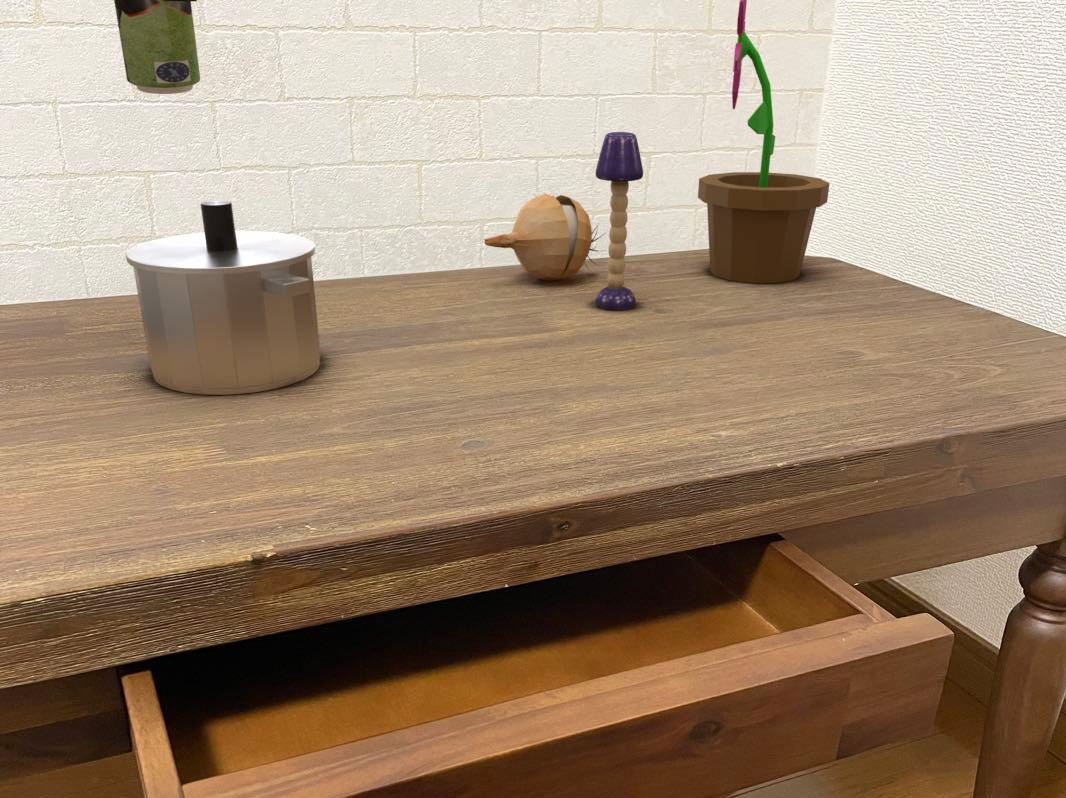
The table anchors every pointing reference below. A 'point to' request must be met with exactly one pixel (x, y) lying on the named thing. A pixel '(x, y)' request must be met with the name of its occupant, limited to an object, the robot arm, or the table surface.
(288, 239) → the pot lid
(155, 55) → the beverage can
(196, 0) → the robot arm
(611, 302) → the toy lamp
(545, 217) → the yellow onion
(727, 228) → the flowerpot
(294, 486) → the table surface
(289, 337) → the pot
